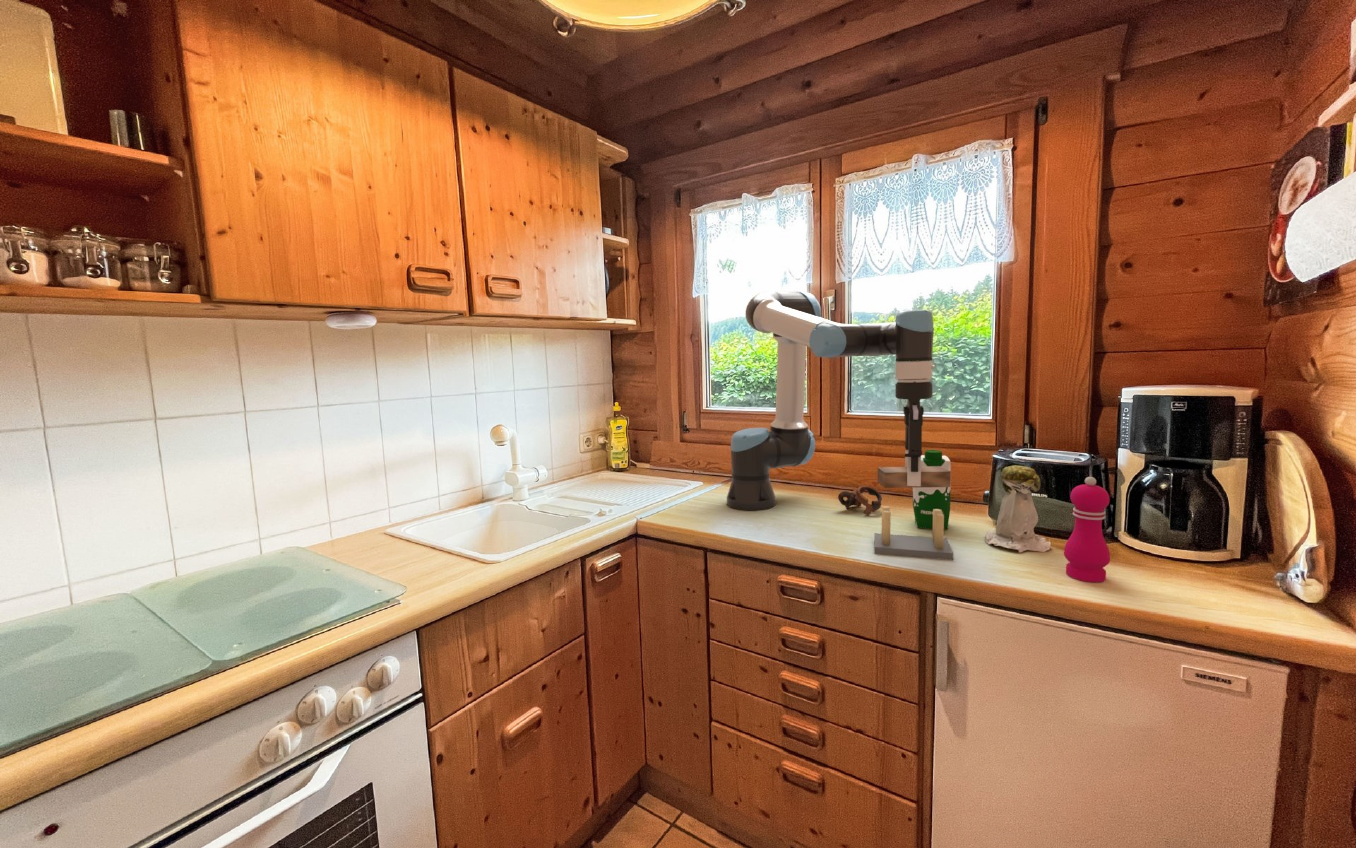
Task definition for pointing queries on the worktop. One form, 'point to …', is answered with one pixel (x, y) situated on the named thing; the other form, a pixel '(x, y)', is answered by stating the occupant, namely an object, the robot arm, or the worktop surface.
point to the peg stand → (913, 540)
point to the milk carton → (932, 493)
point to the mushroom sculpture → (1018, 512)
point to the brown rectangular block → (929, 477)
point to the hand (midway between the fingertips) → (912, 481)
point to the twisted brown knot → (861, 499)
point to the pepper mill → (1088, 534)
